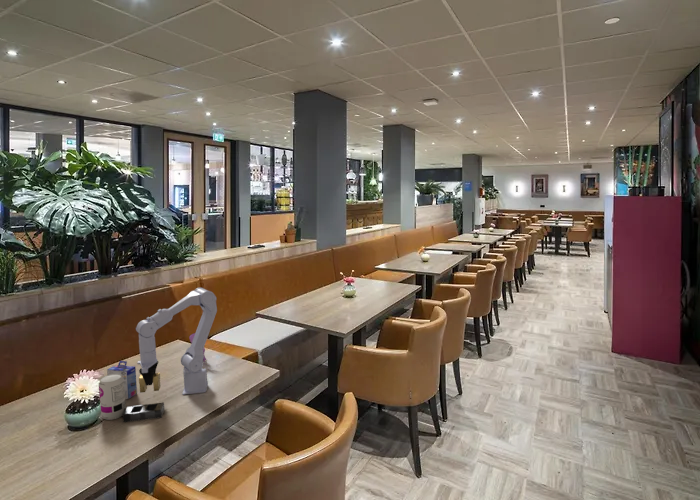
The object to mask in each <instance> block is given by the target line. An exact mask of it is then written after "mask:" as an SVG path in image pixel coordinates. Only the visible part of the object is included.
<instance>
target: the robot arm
mask: <svg viewBox="0 0 700 500" xmlns="http://www.w3.org/2000/svg"><path fill="white" fill-rule="evenodd" d="M217 299H218V298H217V296H216V294H215V293H214V292H213V291H211V290H208V289H205V288H204V287H197V288H195V289H194V290H191V291H190V292H189V293H188V294H187V295H186V296H184V297H183V298H181V299H180V300H178V301H177V302H176V303H175V304H173V305H172V306H170V307H169V308H162V309H161V308H159V309H158V310H157V312H156V313H154V314H153V315H151V316H150V317H149V316H147V317H146V319H143V320H140V321H139V322H138V323H137V325H136V327H135V331H136V332H137V333H138V348H139V357H140V360H138V361H137V362H136V363H137V365H140V367H141V368H140V369H138V373H139V374H140V376H141V375H142V376H143V378H144V381H145V384H146V386H147V387H148V386H152V385H153V374H154V373H157V367H158V365H159V361H158V359H157V350H156V337H155V334H156V332H157V330H159V329H160V328H162V327H163V326H165V325H167V324H168V323H169V322H171V321H172V320H173V318H174V317H173V316H175V315H177V314H178V313H180V312H182V311H184V310H185V309H187V308H189V307H190V306H199V307H200V308H201V310H202V315H201V316H200V320H199V322H198V326H197V328H196V331H195V336H194V338H193V341H192V343H191V344H190V346H189V347H188V348H186V350H185V352H184V353H183V355H182V356H181V358H180V363H181V365H182V366H183V370H182V372H183V373H182V374H183V391H182V392H181V393H182V395H183V396H184V395H192V394H201V393H203V394H204V393H206V392H207V390H208V385H209V381H208V372H207V371H208V370H207V368H203V367H204V360H203V358H204V356H205V352H204V353H203V348H205V345H206V343H207V340H208V337H209V335H210V331H211V328H212V326H213V323H214V322H215V321H214V320H215V317H216V314H217V312H218V307H217Z"/></svg>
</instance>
